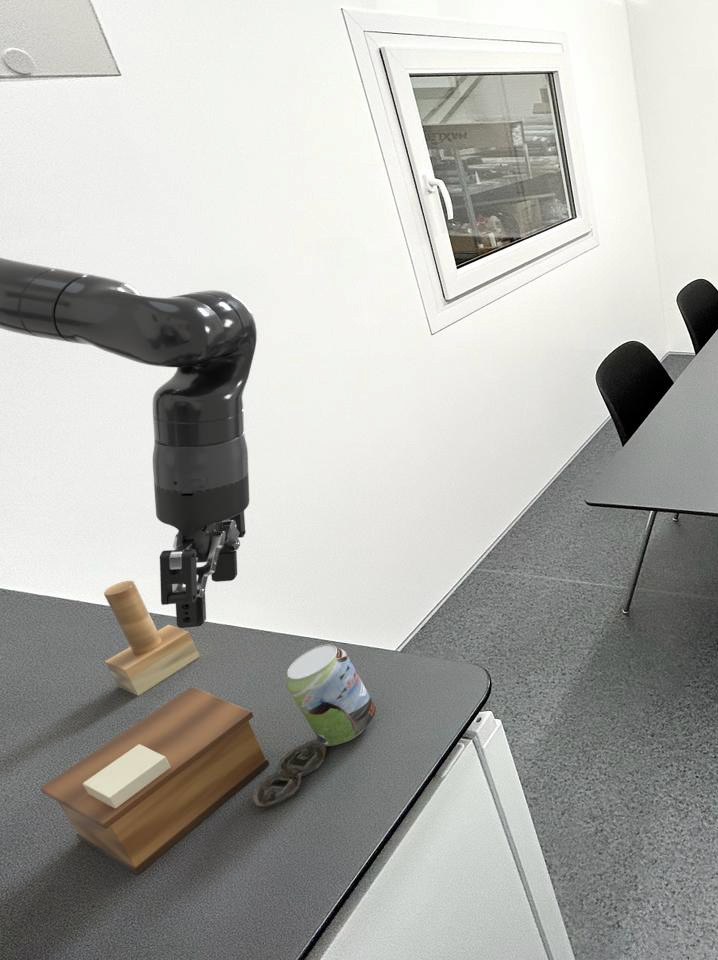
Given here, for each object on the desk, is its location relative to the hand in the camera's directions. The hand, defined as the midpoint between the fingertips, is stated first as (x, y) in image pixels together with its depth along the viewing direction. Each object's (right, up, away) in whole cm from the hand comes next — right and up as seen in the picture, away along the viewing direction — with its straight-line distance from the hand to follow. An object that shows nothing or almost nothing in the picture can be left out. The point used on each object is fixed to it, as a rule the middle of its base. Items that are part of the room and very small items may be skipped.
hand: (209, 601), depth 72 cm
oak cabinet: (-2, -22, -2) cm, 22 cm away
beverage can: (+11, -19, +6) cm, 23 cm away
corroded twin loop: (+9, -21, +1) cm, 23 cm away
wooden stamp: (-21, -16, +15) cm, 31 cm away
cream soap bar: (0, -15, -8) cm, 17 cm away
